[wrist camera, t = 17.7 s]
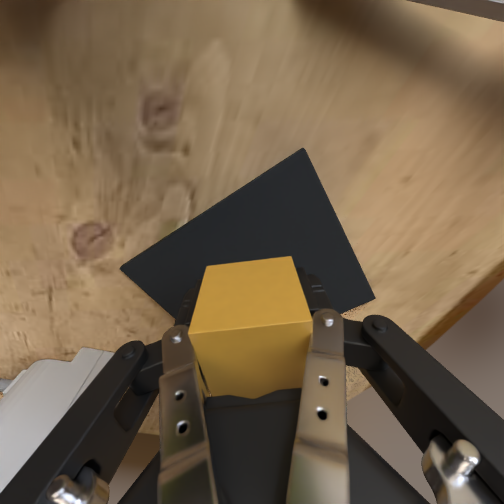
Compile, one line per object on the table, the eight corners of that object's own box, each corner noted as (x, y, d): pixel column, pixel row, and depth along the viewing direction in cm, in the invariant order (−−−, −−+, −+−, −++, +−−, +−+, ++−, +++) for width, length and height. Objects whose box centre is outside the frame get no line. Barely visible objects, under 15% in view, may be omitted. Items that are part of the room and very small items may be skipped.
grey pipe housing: (118, 409, 32) (31, 605, 19) (2, 391, 29) (-192, 606, 16) (127, 355, 27) (14, 579, 14) (-14, 326, 24) (-326, 573, 11)
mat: (302, 147, 16) (304, 148, 16) (373, 294, 23) (376, 298, 23) (122, 265, 21) (119, 268, 20) (226, 359, 28) (225, 364, 27)
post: (297, 382, 19) (291, 255, 13) (312, 457, 14) (313, 320, 9) (238, 388, 19) (206, 265, 13) (236, 463, 15) (187, 333, 9)
